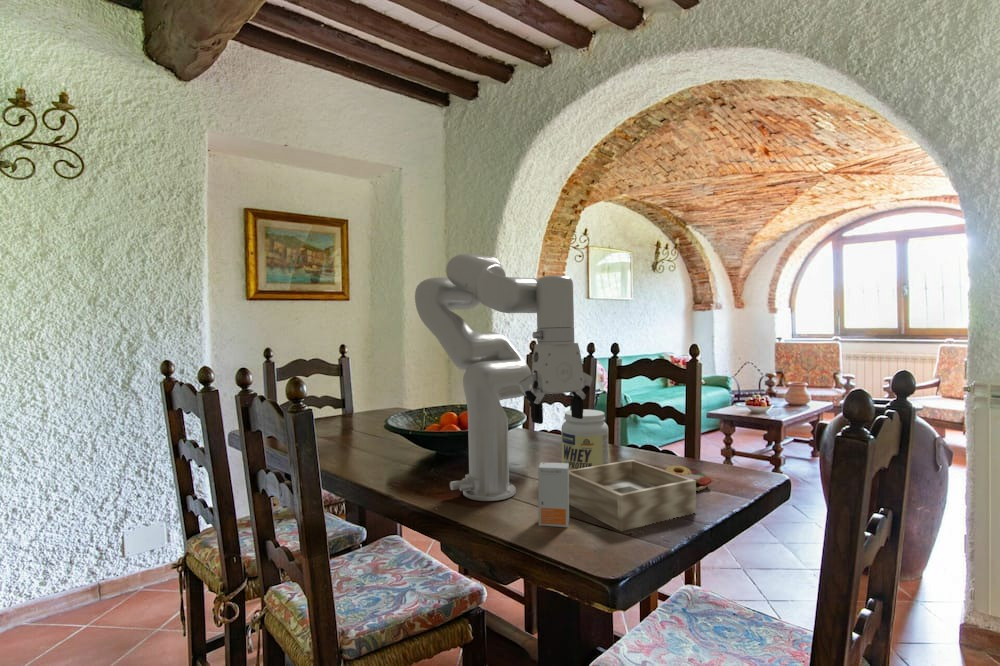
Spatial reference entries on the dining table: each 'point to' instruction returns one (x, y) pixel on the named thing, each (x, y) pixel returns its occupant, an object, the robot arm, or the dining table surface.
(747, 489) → the dining table surface
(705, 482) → the toy food set
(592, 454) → the supplement tub
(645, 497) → the socket box
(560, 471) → the skincare box
